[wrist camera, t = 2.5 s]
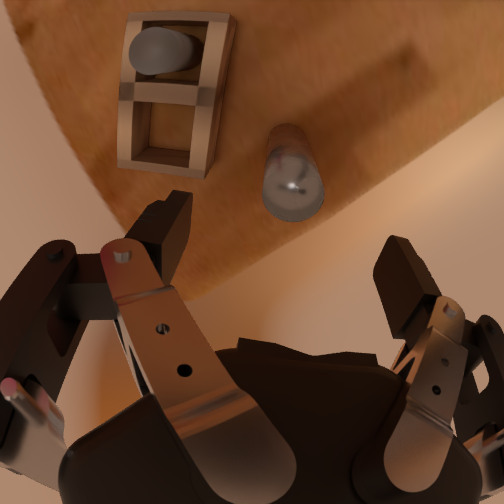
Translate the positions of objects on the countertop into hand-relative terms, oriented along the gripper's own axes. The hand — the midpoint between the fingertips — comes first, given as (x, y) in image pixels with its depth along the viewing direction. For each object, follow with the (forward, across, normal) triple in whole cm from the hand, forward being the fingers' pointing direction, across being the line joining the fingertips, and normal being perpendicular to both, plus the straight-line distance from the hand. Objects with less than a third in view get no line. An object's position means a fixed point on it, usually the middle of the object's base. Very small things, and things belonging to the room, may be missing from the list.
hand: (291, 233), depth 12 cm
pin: (+13, 0, 0) cm, 13 cm away
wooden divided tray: (+13, +9, -3) cm, 16 cm away
